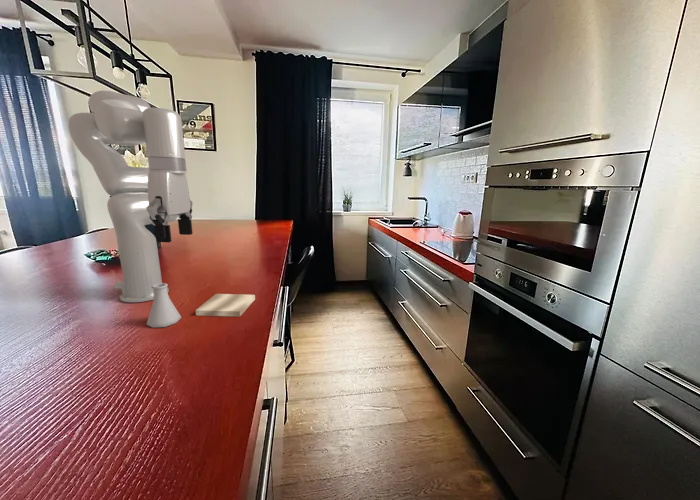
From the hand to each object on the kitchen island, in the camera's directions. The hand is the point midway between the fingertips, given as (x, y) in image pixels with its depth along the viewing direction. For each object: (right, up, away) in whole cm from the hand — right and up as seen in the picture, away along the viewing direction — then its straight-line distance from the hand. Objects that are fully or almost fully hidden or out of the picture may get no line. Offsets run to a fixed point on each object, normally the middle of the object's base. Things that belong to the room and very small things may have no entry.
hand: (175, 238), depth 73 cm
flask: (-4, -22, +3) cm, 22 cm away
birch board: (+8, -19, +12) cm, 24 cm away
